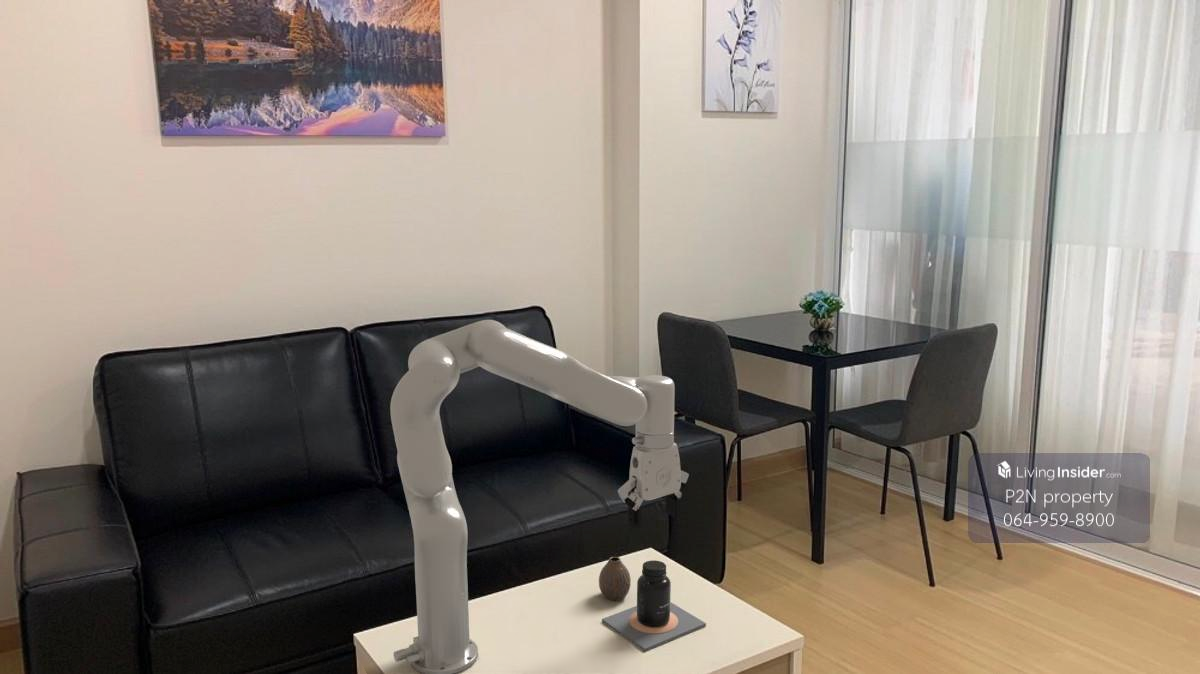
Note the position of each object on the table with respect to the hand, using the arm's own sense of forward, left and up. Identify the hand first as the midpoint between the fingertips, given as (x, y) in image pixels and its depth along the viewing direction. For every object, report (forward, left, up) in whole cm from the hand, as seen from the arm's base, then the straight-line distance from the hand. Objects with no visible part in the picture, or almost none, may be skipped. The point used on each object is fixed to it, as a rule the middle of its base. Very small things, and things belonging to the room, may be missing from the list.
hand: (653, 521), depth 171 cm
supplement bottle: (0, 0, -22) cm, 22 cm away
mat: (0, 0, -22) cm, 22 cm away
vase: (+1, +14, -22) cm, 26 cm away
